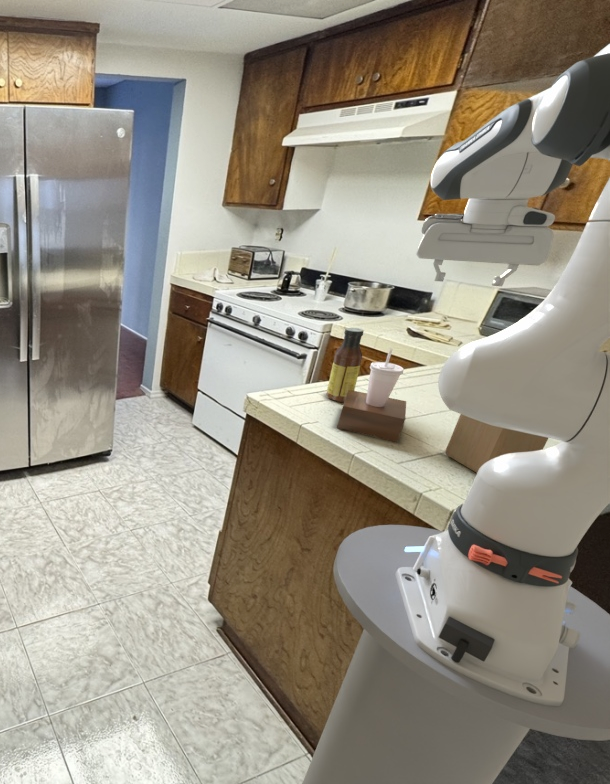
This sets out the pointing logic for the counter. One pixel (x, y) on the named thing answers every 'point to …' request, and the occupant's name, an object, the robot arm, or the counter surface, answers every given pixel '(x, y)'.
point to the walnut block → (372, 417)
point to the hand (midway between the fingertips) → (466, 283)
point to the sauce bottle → (345, 366)
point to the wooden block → (487, 442)
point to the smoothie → (382, 381)
